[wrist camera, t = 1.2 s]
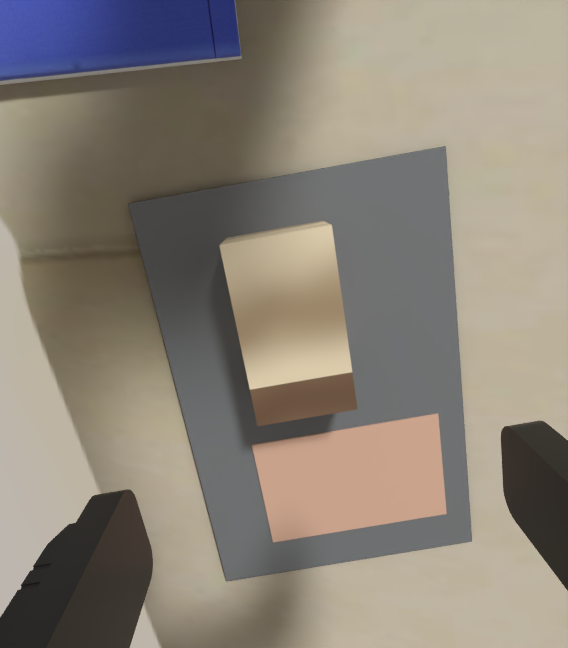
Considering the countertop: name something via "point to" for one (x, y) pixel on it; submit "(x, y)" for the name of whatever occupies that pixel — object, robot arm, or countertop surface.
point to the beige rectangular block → (290, 321)
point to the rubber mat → (366, 360)
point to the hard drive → (112, 36)
